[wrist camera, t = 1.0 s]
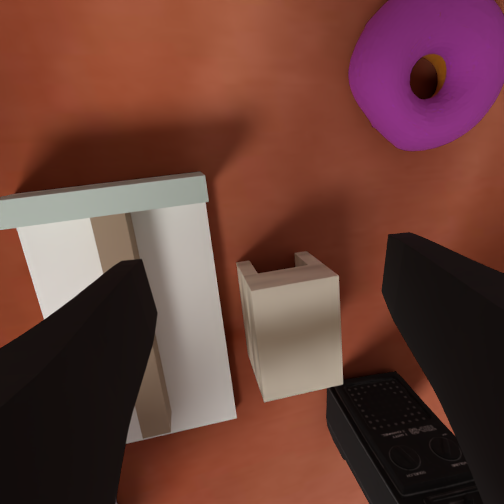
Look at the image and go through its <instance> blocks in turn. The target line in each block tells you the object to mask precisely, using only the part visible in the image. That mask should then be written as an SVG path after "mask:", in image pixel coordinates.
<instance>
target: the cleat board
mask: <svg viewBox="0 0 504 504" xmlns="http://www.w3.org/2000/svg"><path fill="white" fill-rule="evenodd" d="M206 202H209V199H208V192H207V185H206V178H205V175H204V174H203V173H202V172H200V171H199V172H191V173H183V174H175V175H166V176H158V177H150V178H141V179H133V180H125V181H117V182H108V183H100V184H92V185H83V186H75V187H67V188H59V189H50V190H42V191H34V192H26V193H17V194H11V195H7V196H3V197H0V230H3V229H10V228H17V231H18V234H19V238H20V241H21V244H22V248H23V251H24V254H25V258H26V261H27V264H28V268H29V271H30V274H31V277H32V281H33V284H34V287H35V291H36V294H37V297H38V301H39V304H40V307H41V311H42V314H43V317H44V319H46V318H47V317H48V316H50V315H51V314H52V313H54V312H55V311H56V310H58V309H59V308H61V307H62V306H63V305H65V304H66V303H67V302H69V301H70V300H71V299H73V298H74V297H75V296H76V295H78V294H79V293H80V292H81V291H83V290H84V289H85V288H86V287H88V286H89V285H90V284H91V283H93V282H94V281H95V280H96V279H98V278H99V277H100V276H101V275H103V274H104V273H105V272H106V271H108V270H109V269H110V268H112V267H113V266H114V265H116V264H117V263H119V262H120V261H124V260H134V259H142V261H143V264H144V267H145V271H146V274H147V278H148V281H149V285H150V288H151V292H152V295H153V298H154V302H155V305H156V309H157V312H158V315H157V322H156V330H155V336H154V342H153V346H152V349H151V353H150V356H149V360H148V363H147V367H146V370H145V373H144V377H143V380H142V383H141V387H140V390H139V393H138V397H137V400H136V403H135V407H134V410H133V414H132V417H131V421H130V425H129V430H128V435H127V440H126V444H128V443H132V442H136V441H140V440H145V439H149V438H153V437H158V436H162V435H166V434H171V433H175V432H179V431H184V430H188V429H192V428H197V427H201V426H205V425H210V424H214V423H218V422H223V421H227V420H231V419H235V418H237V416H236V409H235V402H234V395H233V388H232V381H231V374H230V367H229V361H228V354H227V347H226V340H225V333H224V326H223V319H222V312H221V305H220V299H219V292H218V285H217V278H216V271H215V264H214V257H213V250H212V243H211V237H210V230H209V223H208V216H207V209H206Z"/></svg>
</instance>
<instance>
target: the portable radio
mask: <svg viewBox="0 0 504 504" xmlns="http://www.w3.org/2000/svg"><path fill="white" fill-rule="evenodd" d="M326 419H327V426H328V429H329V431H330V434H331V436H332V438H333V441H334V443H335V445H336V446H337V448H338V450H339V452H340V454H341V456H342V458H343V459H344V460H346V462H347V464H348V466H349V467H350V469H351V471H352V473H353V475H354V476H355V478H356V480H357V482H358V484H359V486H360V487H361V489H362V491H363V493H364V495H365V497H366V498H367V500H368V502H369V504H483V501H482V499H481V496H480V494H479V491H478V488H477V486H476V483H475V481H474V478H473V476H472V473H471V471H470V469H469V466H468V464H467V462H466V459H465V457H464V455H463V452H462V450H461V448H460V445H459V443H458V441H457V438H456V436H455V435H454V434H453V433H452V432H451V431H450V430H449V429H448V428H447V427H446V426H445V425H444V424H443V423H442V422H441V421H440V419H439V418H438V417H437V416H436V415H435V414H434V413H433V412H432V411H431V410H430V408H429V407H428V406H427V405H426V404H425V403H424V402H423V401H422V400H421V399H420V397H419V396H418V395H417V394H416V393H415V392H414V391H413V389H412V388H411V387H410V386H409V385H408V384H407V382H406V381H405V380H404V379H403V378H402V377H401V376H400V375H399V374H398V373H397V372H396V371H395V372H389V373H382V374H376V375H370V376H364V377H358V378H352V379H347V380H343V385H338V386H334V387H329V388H327V411H326Z"/></svg>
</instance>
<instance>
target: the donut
mask: <svg viewBox="0 0 504 504" xmlns="http://www.w3.org/2000/svg"><path fill="white" fill-rule="evenodd" d="M421 57H422V58H425V59H427V60H428V61H430V62H431V63H432V65H433V66H434V67H435V70H436V72H437V79H438V84H437V88H436V91H435V93H434V95H433V96H432V97H431V98H428V99H419V98H418V97H417V96H416V95H415V94H414V93H413V92H412V90H411V87H410V73H411V71H412V68H413V66H414V65H415V63H416V62H417V61H418V60H419V59H420V58H421ZM348 74H349V84H350V88H351V91H352V93H353V96H354V98H355V100H356V102H357V103H358V105H359V107H360V108H361V109H362V111H363V112H364V113H365V115H366V116H367V118H368V119H369V121H370V122H371V124H372V127H374V128H376V129H377V130H378V131H379V132H380V133H381V134H382V135H383V136H384V137H385V138H386V139H387V140H388V141H389V142H391V143H392V144H393V145H394V146H396V147H397V148H399V149H402V150H406V151H421V150H427V149H432V148H436V147H439V146H442V145H445V144H447V143H449V142H452V141H454V140H455V139H457V138H459V137H460V136H462V135H464V134H465V133H467V132H468V131H469V130H470V129H472V128H473V127H474V126H475V125H476V124H477V123H478V122H479V121H480V120H481V119H482V118H483V117H484V116H485V114H486V113H487V112H488V110H489V109H490V108H491V106H492V105H493V103H494V102H495V100H496V98H497V96H498V95H499V93H500V91H501V88H502V86H503V83H504V15H503V13H502V11H501V9H500V7H499V6H498V5H497V4H496V2H495V1H494V0H388V1H387V2H386V3H385V4H384V5H383V6H382V7H381V8H380V9H379V10H378V11H377V12H376V13H375V14H374V16H373V17H372V18H371V19H370V20H369V21H368V22H367V24H366V25H365V28H364V30H363V32H362V34H361V36H360V38H359V40H358V42H357V44H356V46H355V49H354V51H353V54H352V57H351V60H350V66H349V73H348Z"/></svg>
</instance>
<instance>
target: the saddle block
mask: <svg viewBox="0 0 504 504" xmlns="http://www.w3.org/2000/svg"><path fill="white" fill-rule="evenodd" d="M294 255H295V267H293V268H288V269H282V270H276V271H270V272H264V273H257V272H256V270H255V269H254V267H253V265H252V264H251V262H250V261H243V262H236V264H237V272H238V280H239V287H240V295H241V303H242V311H243V319H244V327H245V335H246V343H247V351H248V356H249V359H250V362H251V365H252V368H253V371H254V374H255V377H256V380H257V382H258V385H259V388H260V391H261V394H262V397H263V400H264V402H268V401H272V400H277V399H281V398H285V397H290V396H294V395H299V394H303V393H307V392H312V391H316V390H321V389H325V388H329V387H334V386H338V385H343V366H342V341H341V317H340V293H339V275H337V274H336V273H335V272H333V271H332V270H331V269H330V268H328V267H327V266H326V265H324V264H323V263H322V262H320V261H319V260H318V259H316V258H315V257H314V256H312V255H311V254H310V253H308V252H307V251H304V252H298V253H294Z"/></svg>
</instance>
